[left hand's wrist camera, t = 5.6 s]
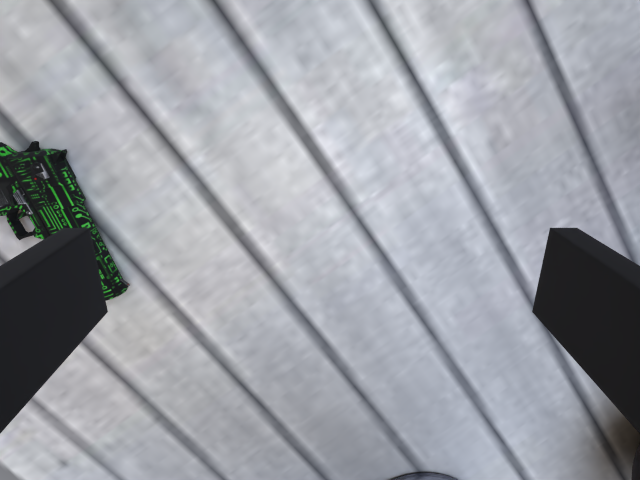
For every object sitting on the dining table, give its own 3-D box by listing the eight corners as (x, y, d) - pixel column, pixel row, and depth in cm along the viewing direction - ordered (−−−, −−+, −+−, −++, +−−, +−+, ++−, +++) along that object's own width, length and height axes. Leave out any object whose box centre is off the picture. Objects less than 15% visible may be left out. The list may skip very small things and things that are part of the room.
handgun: (-107, 164, 37) (54, 132, 35) (-76, 157, 39) (74, 127, 38) (-16, 321, 43) (124, 299, 41) (5, 305, 45) (137, 284, 44)
